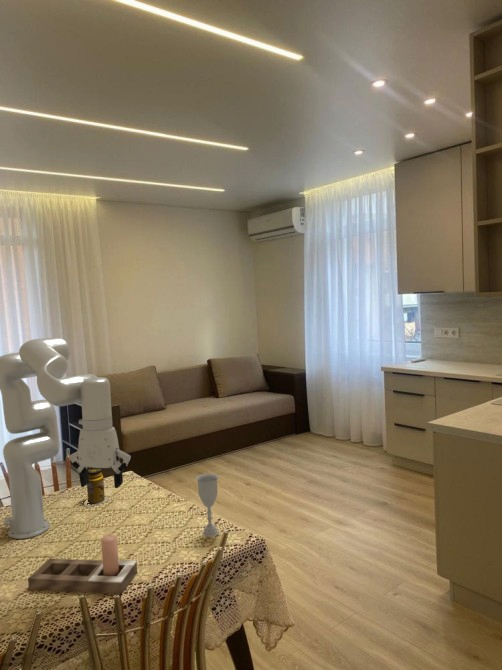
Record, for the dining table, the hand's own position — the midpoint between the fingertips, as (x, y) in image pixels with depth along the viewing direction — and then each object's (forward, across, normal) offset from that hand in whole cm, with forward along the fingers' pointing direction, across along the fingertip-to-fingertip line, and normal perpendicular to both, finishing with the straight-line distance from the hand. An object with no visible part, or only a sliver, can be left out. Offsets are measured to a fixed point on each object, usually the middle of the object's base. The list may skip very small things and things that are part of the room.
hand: (101, 485), depth 134 cm
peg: (+25, +3, -4) cm, 25 cm away
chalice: (+25, +23, +25) cm, 42 cm away
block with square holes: (+25, -5, -4) cm, 26 cm away
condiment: (+26, -28, +47) cm, 60 cm away
